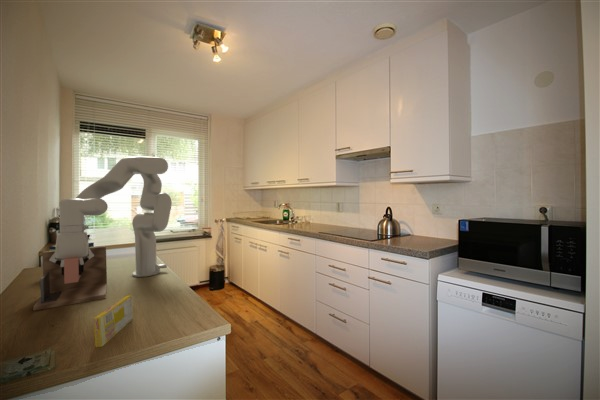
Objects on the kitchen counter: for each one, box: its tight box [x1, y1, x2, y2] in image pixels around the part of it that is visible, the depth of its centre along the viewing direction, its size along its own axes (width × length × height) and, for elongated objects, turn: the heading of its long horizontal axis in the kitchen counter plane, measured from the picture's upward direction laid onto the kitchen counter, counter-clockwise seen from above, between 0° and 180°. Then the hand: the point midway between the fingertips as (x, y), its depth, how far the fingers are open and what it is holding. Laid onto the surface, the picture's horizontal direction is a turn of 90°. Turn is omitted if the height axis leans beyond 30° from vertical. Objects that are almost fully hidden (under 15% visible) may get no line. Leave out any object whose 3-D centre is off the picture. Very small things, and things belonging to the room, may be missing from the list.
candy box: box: [93, 295, 134, 348], centre depth 83 cm, size 16×2×8 cm, turn 5°
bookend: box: [39, 272, 62, 303], centre depth 107 cm, size 4×11×9 cm, turn 33°
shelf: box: [32, 245, 108, 311], centre depth 111 cm, size 21×18×18 cm
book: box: [64, 257, 81, 284], centre depth 110 cm, size 4×10×9 cm, turn 33°
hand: (72, 274), depth 110 cm, fingers closed on book, 4 cm apart
